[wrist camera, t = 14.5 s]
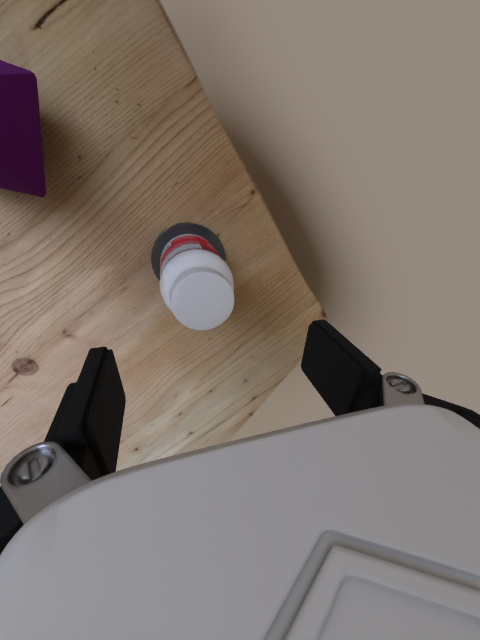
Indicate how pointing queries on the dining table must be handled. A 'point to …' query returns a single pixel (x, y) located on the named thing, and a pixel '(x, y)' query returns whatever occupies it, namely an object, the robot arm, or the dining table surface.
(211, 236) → the coaster
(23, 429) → the dining table surface
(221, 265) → the pill bottle
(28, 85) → the perfume bottle
